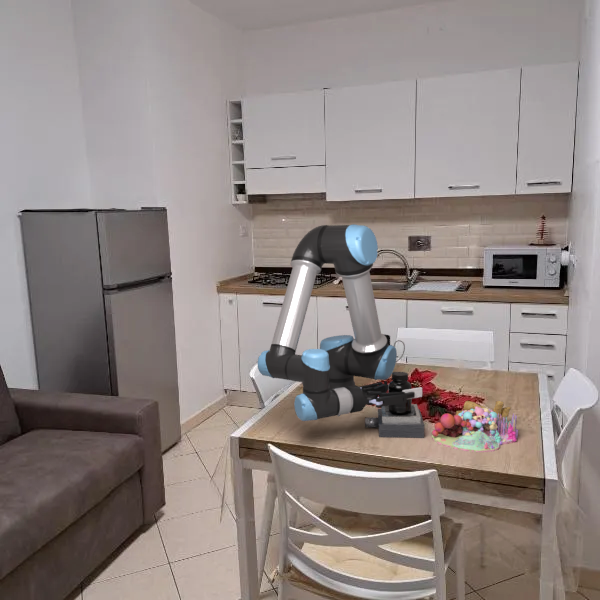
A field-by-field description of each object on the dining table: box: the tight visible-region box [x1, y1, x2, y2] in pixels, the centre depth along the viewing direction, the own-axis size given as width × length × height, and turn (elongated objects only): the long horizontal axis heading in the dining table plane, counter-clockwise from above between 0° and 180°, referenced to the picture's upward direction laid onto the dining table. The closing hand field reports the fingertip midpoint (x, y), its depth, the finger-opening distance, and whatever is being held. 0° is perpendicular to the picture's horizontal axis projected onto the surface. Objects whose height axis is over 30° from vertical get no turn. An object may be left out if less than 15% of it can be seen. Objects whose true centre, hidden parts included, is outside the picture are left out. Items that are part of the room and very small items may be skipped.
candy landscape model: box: [431, 400, 519, 453], centre depth 162 cm, size 25×24×9 cm
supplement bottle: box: [388, 371, 413, 415], centre depth 166 cm, size 7×7×12 cm
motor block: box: [364, 403, 425, 439], centre depth 168 cm, size 17×13×6 cm
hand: (413, 388), depth 168 cm, fingers closed on supplement bottle, 7 cm apart
